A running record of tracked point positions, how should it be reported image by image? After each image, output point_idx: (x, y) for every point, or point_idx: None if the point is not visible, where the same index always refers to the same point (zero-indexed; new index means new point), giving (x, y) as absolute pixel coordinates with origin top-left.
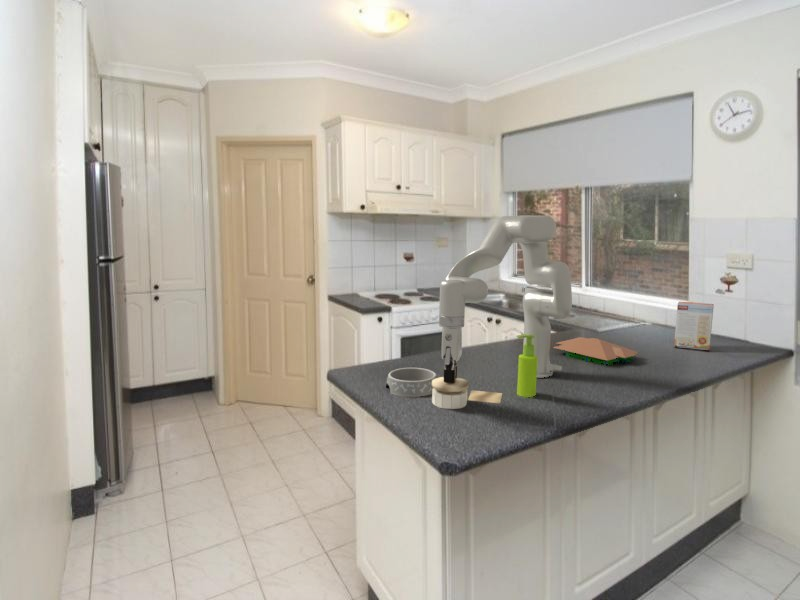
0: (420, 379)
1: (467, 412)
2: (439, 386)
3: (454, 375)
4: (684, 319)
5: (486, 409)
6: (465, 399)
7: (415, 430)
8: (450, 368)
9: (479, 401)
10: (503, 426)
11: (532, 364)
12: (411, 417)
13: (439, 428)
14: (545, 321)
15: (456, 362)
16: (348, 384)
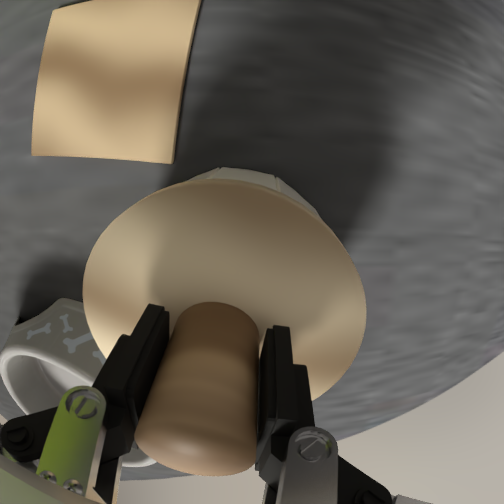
0: (30, 359)
1: (353, 169)
2: (325, 390)
3: (290, 371)
4: None
5: (293, 60)
6: (282, 186)
7: (480, 349)
8: (348, 466)
9: (180, 94)
10: (483, 47)
11: None
12: (392, 378)
13: (489, 290)
14: None
15: (66, 409)
16: (141, 475)
